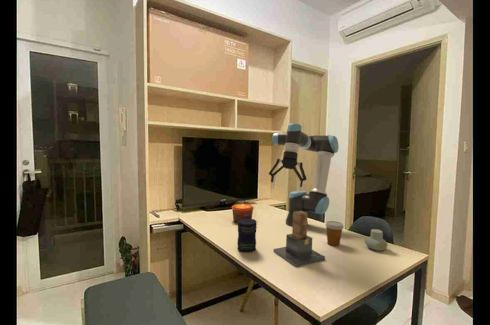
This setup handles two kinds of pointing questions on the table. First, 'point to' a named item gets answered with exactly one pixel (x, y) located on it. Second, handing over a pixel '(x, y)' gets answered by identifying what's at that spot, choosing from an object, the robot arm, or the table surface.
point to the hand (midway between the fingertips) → (285, 190)
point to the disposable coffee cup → (334, 232)
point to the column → (299, 224)
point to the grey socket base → (298, 251)
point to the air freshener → (376, 240)
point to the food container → (242, 211)
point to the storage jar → (246, 235)
